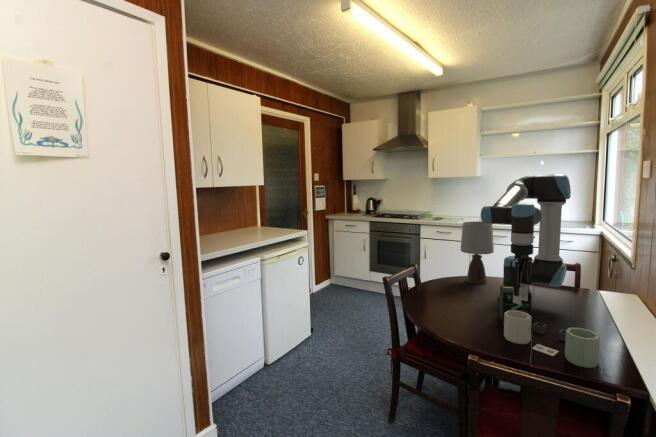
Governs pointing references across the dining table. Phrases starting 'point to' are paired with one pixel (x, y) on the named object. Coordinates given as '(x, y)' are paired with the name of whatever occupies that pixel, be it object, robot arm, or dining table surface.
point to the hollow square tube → (562, 334)
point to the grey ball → (524, 290)
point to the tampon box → (508, 304)
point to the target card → (545, 350)
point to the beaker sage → (582, 347)
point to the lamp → (477, 248)
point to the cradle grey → (540, 328)
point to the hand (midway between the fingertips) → (520, 301)
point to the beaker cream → (517, 327)
